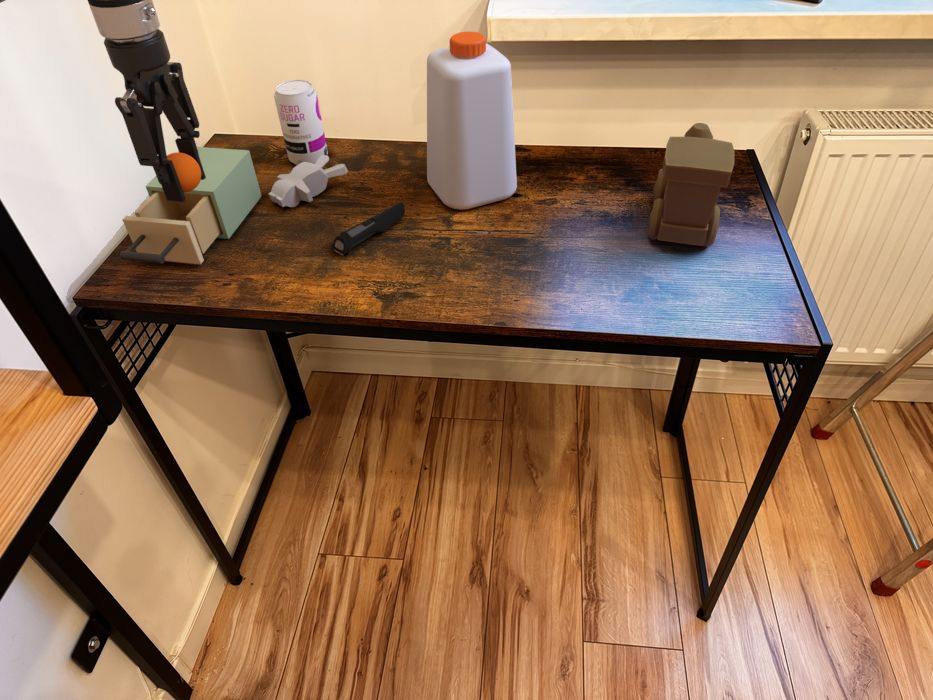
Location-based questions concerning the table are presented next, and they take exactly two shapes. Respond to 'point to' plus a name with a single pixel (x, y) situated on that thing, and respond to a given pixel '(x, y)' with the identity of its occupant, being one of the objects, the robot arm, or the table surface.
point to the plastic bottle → (470, 123)
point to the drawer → (172, 229)
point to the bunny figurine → (304, 182)
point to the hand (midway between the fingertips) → (186, 188)
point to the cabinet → (225, 185)
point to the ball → (186, 170)
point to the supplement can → (300, 121)
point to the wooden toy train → (691, 188)
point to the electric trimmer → (368, 228)
